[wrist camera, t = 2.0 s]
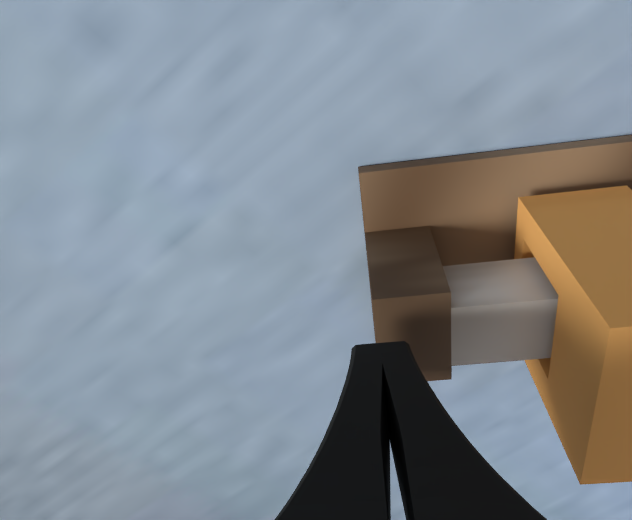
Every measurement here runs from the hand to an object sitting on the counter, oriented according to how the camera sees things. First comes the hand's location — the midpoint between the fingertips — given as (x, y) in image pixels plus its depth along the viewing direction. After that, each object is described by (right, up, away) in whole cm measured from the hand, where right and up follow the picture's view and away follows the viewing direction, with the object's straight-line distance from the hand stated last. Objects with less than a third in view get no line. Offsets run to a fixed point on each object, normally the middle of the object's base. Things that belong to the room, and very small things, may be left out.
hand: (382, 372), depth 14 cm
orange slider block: (+6, +3, +4) cm, 8 cm away
